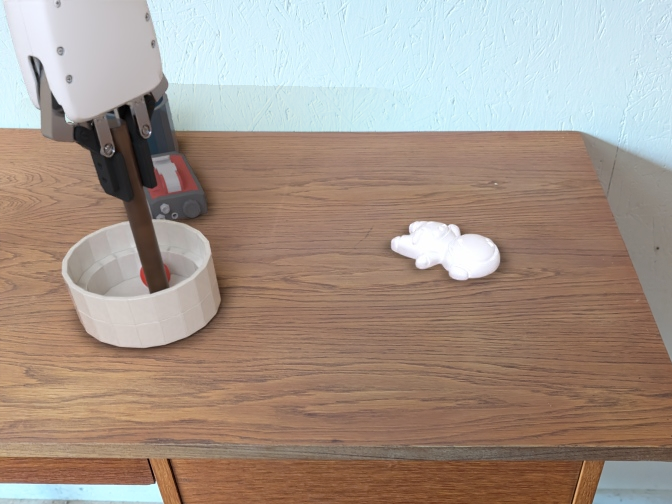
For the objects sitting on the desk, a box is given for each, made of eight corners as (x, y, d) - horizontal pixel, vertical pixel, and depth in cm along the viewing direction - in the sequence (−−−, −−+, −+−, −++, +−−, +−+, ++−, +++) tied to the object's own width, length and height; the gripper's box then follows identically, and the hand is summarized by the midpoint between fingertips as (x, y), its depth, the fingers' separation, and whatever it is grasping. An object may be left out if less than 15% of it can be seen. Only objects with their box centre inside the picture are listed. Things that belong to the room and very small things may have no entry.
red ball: (140, 295, 75) (132, 269, 73) (148, 278, 77) (141, 253, 75) (169, 296, 75) (162, 270, 73) (176, 279, 77) (169, 254, 74)
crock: (99, 172, 93) (81, 115, 88) (120, 140, 99) (105, 84, 93) (170, 175, 93) (156, 117, 87) (187, 142, 98) (175, 86, 93)
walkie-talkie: (118, 182, 91) (149, 264, 80) (108, 146, 88) (138, 227, 76) (187, 169, 94) (227, 247, 82) (180, 134, 90) (220, 210, 78)
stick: (150, 308, 71) (97, 128, 58) (155, 296, 73) (105, 117, 59) (170, 309, 71) (121, 128, 58) (175, 297, 72) (129, 118, 59)
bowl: (62, 350, 70) (39, 296, 66) (106, 268, 79) (89, 216, 75) (204, 355, 70) (191, 302, 65) (233, 273, 79) (223, 221, 74)
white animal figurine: (425, 222, 85) (426, 197, 83) (513, 256, 81) (517, 231, 78) (380, 255, 81) (379, 230, 78) (471, 293, 76) (473, 267, 74)
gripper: (108, -107, 54) (165, 144, 69) (-82, -58, 46) (28, 217, 60) (181, -93, 52) (225, 165, 66) (-7, -38, 43) (90, 244, 58)
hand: (131, 188), depth 63 cm, fingers closed on stick, 2 cm apart
